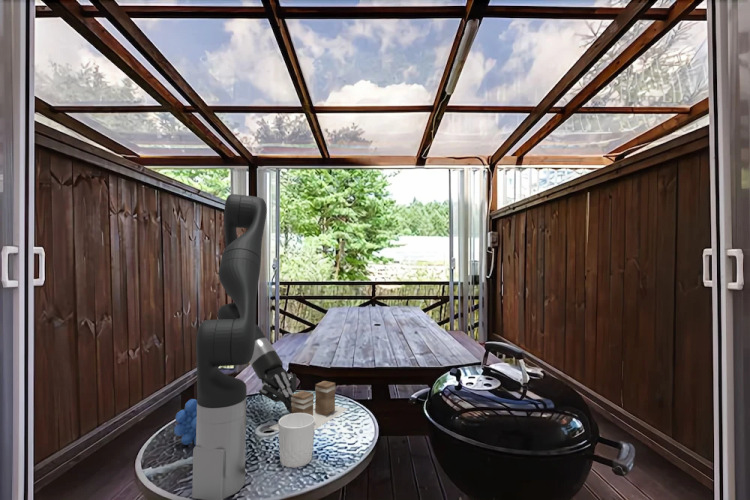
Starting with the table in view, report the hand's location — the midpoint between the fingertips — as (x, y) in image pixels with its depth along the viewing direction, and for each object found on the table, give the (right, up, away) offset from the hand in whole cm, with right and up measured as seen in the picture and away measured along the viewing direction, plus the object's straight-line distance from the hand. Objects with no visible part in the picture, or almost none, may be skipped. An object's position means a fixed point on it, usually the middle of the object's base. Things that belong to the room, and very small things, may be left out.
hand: (294, 410), depth 100 cm
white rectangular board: (+4, -5, +4) cm, 7 cm away
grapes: (-22, -5, -8) cm, 24 cm away
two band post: (+2, -3, -1) cm, 4 cm away
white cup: (+4, -5, -18) cm, 19 cm away
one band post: (+7, -4, +7) cm, 11 cm away
